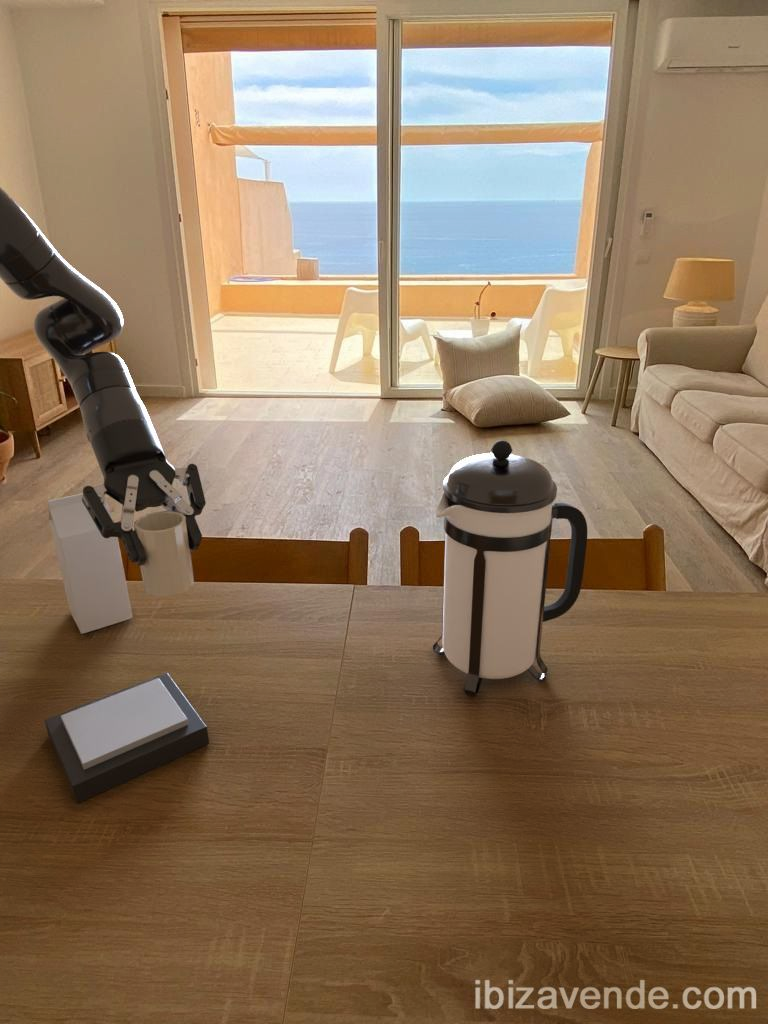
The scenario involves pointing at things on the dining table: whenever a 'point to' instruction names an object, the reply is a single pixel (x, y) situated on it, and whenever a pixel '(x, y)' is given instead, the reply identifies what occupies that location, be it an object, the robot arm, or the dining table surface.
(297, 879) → the dining table surface
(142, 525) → the cup
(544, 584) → the coffee press
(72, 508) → the milk carton
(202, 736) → the scale
